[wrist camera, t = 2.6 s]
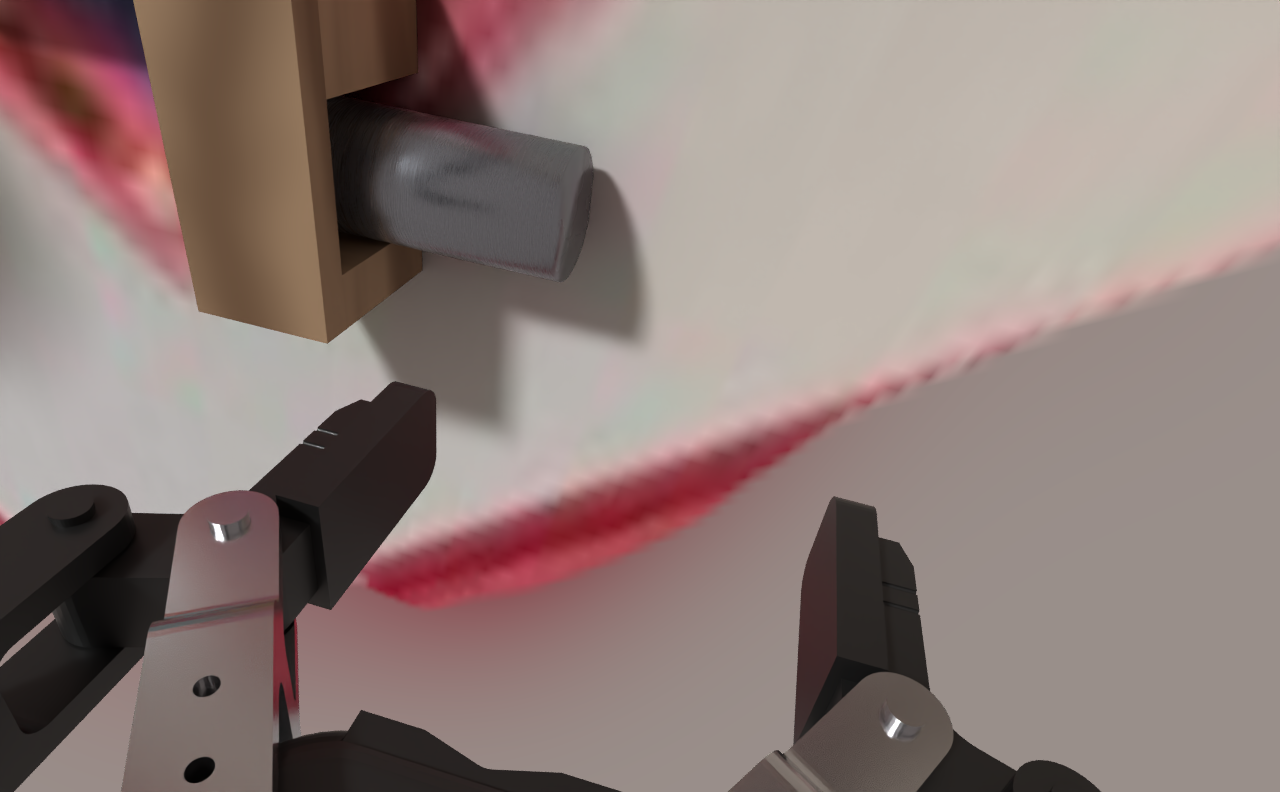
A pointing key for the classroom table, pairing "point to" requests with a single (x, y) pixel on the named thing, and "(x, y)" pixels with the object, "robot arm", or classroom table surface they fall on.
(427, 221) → the axle
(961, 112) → the classroom table surface
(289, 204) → the brown notched block
